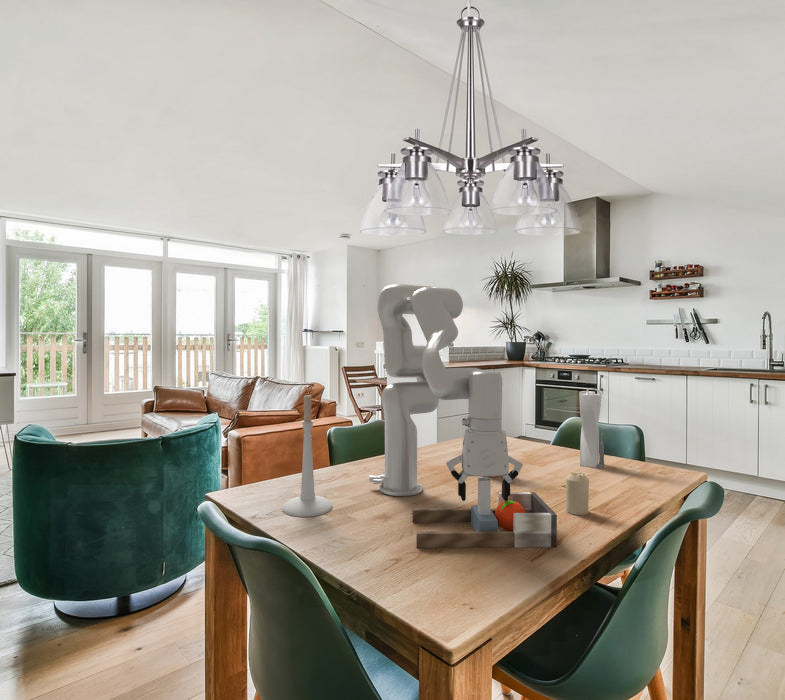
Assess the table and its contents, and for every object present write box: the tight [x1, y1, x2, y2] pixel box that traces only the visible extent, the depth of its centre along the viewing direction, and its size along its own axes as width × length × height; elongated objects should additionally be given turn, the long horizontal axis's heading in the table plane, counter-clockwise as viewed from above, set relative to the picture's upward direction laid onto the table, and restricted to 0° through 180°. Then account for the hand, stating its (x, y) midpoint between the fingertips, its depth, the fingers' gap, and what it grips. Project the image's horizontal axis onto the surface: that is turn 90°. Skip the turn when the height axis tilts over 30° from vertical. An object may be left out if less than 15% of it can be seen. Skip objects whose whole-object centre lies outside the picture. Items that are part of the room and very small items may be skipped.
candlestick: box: [282, 394, 333, 518], centre depth 129 cm, size 13×13×30 cm
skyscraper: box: [578, 387, 605, 470], centre depth 173 cm, size 8×8×28 cm
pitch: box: [411, 491, 558, 549], centre depth 113 cm, size 30×15×7 cm, turn 91°
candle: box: [565, 472, 590, 516], centre depth 127 cm, size 6×6×10 cm
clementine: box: [495, 500, 525, 531], centre depth 113 cm, size 8×7×7 cm
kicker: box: [470, 477, 499, 531], centre depth 113 cm, size 4×10×12 cm, turn 1°
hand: (483, 498), depth 113 cm, fingers open, 9 cm apart
